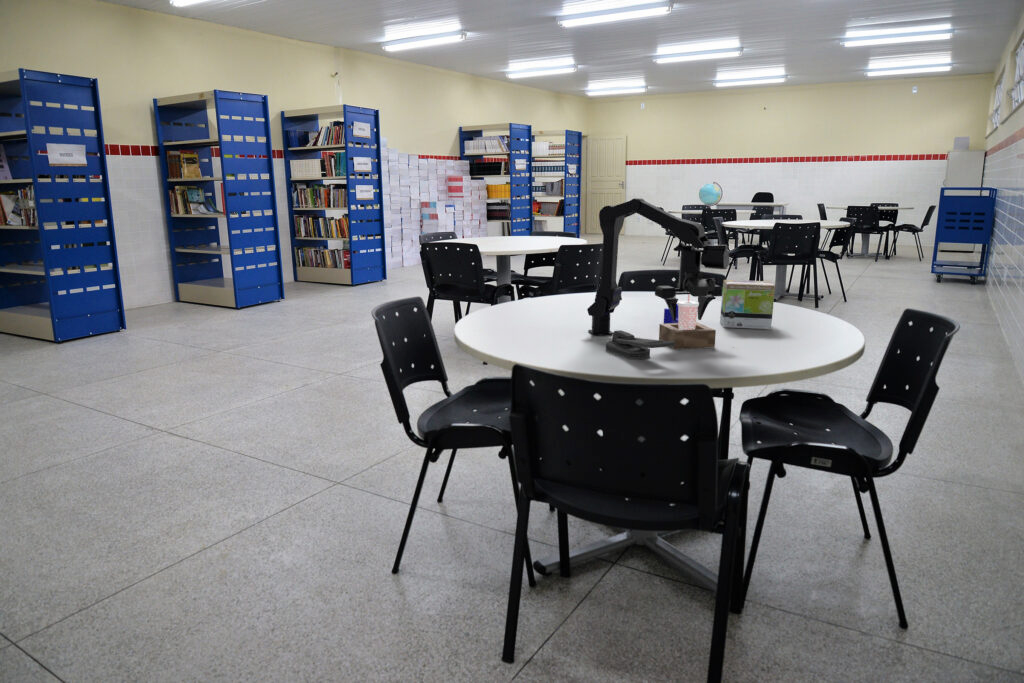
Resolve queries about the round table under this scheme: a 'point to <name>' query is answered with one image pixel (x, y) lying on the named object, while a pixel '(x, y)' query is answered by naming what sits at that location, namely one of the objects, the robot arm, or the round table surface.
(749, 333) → the round table surface
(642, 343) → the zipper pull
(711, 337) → the walnut well block
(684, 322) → the beverage cup
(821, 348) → the round table surface
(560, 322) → the round table surface
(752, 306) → the tea box
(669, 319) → the blue piece
